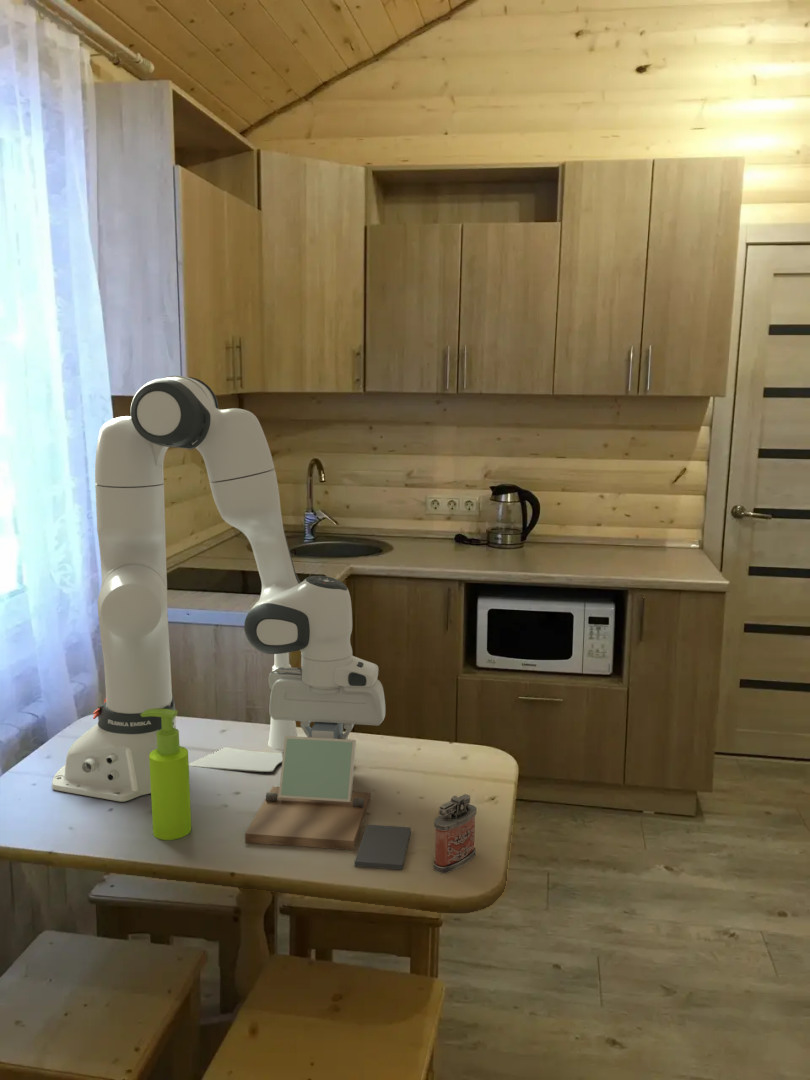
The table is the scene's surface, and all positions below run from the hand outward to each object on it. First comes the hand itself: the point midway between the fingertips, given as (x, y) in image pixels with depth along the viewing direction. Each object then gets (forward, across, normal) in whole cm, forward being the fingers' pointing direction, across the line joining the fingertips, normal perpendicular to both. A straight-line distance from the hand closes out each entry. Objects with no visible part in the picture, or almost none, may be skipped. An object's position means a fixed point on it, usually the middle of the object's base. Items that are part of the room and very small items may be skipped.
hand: (327, 744), depth 157 cm
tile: (+5, 0, -11) cm, 12 cm away
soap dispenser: (+7, -22, -20) cm, 30 cm away
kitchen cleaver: (+6, -14, 0) cm, 15 cm away
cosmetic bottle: (+7, -12, +14) cm, 20 cm away
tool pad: (+7, +13, -21) cm, 26 cm away
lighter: (+7, +24, -23) cm, 34 cm away
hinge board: (+7, 0, -14) cm, 16 cm away
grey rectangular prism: (+4, 0, 0) cm, 4 cm away
